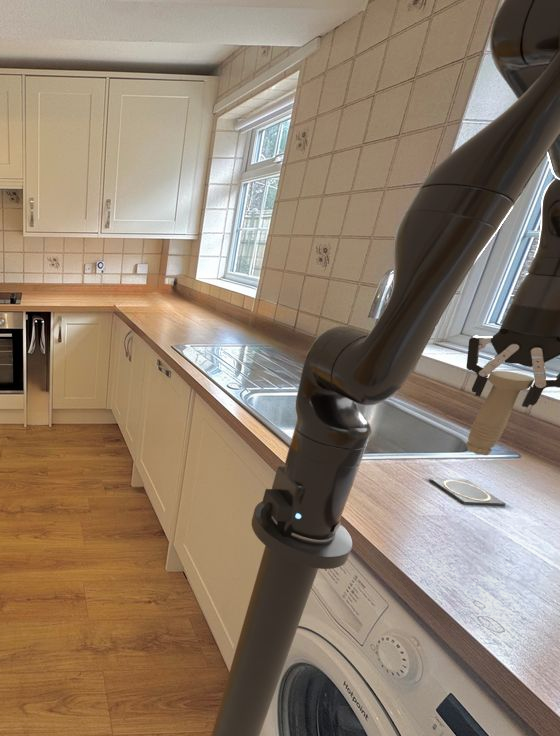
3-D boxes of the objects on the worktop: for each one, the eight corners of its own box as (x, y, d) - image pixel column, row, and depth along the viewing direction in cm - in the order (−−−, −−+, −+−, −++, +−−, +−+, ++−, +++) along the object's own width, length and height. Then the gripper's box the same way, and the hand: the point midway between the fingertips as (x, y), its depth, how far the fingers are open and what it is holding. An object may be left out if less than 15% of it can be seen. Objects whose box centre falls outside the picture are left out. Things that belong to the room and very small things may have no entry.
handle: (503, 455, 75) (541, 378, 69) (483, 461, 72) (521, 382, 67) (470, 443, 79) (503, 369, 74) (450, 448, 77) (483, 373, 71)
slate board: (463, 504, 75) (465, 501, 74) (428, 480, 82) (430, 477, 82) (505, 505, 75) (506, 503, 74) (466, 482, 82) (467, 479, 81)
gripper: (481, 299, 69) (443, 393, 75) (620, 314, 59) (563, 420, 65) (485, 296, 73) (449, 384, 79) (615, 309, 63) (562, 409, 69)
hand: (500, 400), depth 72 cm, fingers closed on handle, 5 cm apart
